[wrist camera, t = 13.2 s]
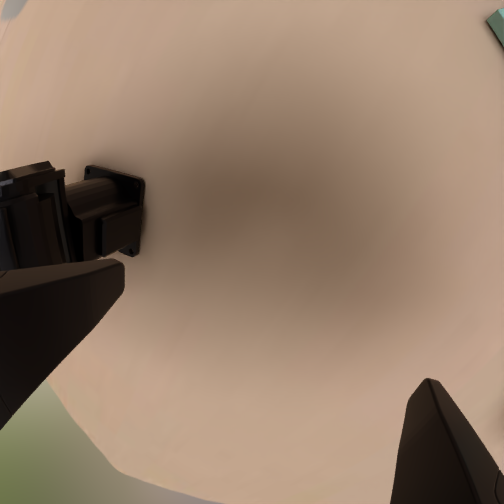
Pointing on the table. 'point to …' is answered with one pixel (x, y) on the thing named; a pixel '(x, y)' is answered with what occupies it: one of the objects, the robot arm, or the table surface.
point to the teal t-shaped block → (498, 24)
